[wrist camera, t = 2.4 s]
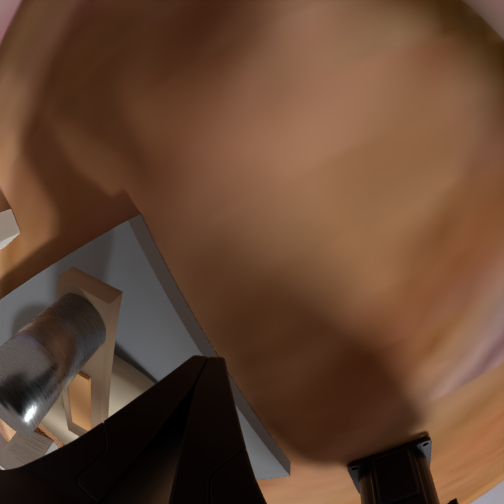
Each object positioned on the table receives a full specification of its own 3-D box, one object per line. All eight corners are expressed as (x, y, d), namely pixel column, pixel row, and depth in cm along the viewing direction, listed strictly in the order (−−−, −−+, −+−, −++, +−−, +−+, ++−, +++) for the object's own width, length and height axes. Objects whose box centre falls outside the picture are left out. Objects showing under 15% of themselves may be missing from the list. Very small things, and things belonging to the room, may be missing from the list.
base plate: (290, 462, 17) (289, 490, 15) (107, 466, 21) (99, 483, 19) (103, 128, 11) (69, 127, 9) (-38, 266, 15) (-58, 277, 13)
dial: (174, 483, 18) (151, 556, 11) (38, 412, 17) (-4, 469, 10) (261, 326, 12) (234, 502, 5) (18, 213, 11) (-99, 265, 4)
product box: (76, 468, 24) (54, 508, 17) (43, 452, 24) (20, 488, 17) (54, 440, 22) (25, 484, 15) (21, 423, 22) (-7, 460, 15)
